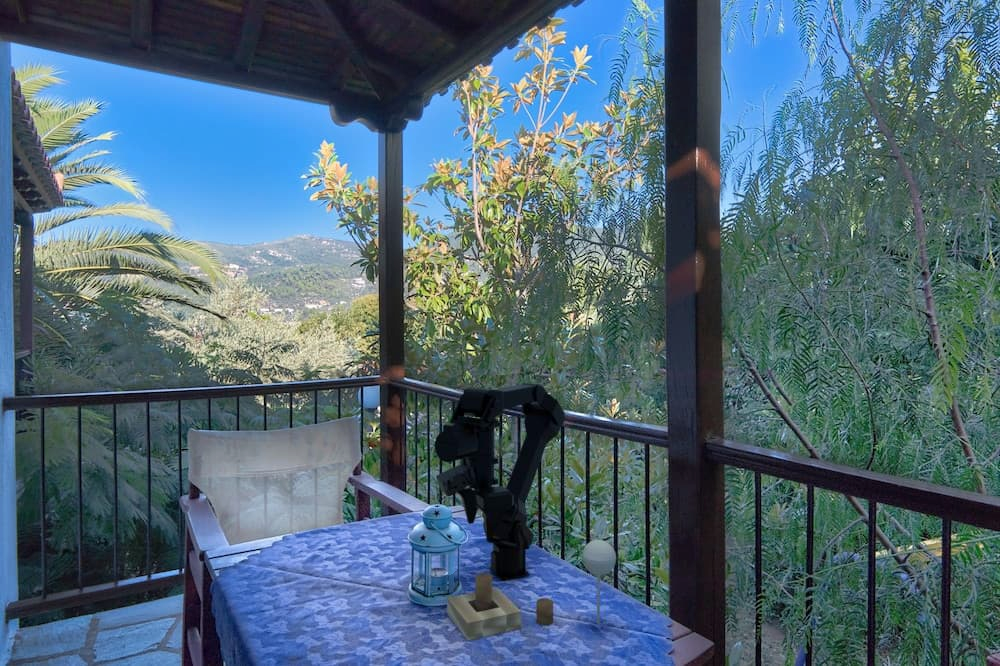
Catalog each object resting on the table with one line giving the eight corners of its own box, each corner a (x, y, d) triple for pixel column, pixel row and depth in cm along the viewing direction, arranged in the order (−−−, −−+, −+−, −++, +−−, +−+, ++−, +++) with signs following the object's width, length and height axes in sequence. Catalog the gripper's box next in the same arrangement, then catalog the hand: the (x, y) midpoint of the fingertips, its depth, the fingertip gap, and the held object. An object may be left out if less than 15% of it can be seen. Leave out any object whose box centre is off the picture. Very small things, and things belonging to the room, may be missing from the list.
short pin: (548, 615, 111) (548, 596, 111) (556, 623, 109) (556, 604, 108) (533, 619, 110) (533, 600, 110) (541, 627, 107) (541, 607, 107)
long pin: (487, 615, 111) (488, 572, 111) (494, 623, 108) (495, 578, 108) (472, 618, 110) (472, 574, 110) (479, 626, 107) (479, 581, 107)
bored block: (497, 603, 116) (497, 587, 116) (520, 628, 107) (521, 611, 107) (447, 613, 112) (447, 597, 112) (467, 640, 103) (467, 623, 102)
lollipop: (607, 637, 104) (608, 550, 103) (575, 627, 107) (576, 543, 107) (620, 622, 109) (621, 538, 109) (589, 613, 112) (590, 532, 112)
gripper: (425, 446, 125) (425, 521, 126) (458, 467, 108) (458, 554, 109) (475, 441, 130) (475, 514, 131) (515, 461, 113) (514, 544, 114)
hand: (479, 530), depth 121 cm, fingers open, 9 cm apart
